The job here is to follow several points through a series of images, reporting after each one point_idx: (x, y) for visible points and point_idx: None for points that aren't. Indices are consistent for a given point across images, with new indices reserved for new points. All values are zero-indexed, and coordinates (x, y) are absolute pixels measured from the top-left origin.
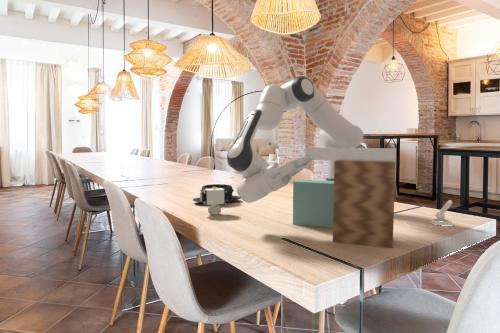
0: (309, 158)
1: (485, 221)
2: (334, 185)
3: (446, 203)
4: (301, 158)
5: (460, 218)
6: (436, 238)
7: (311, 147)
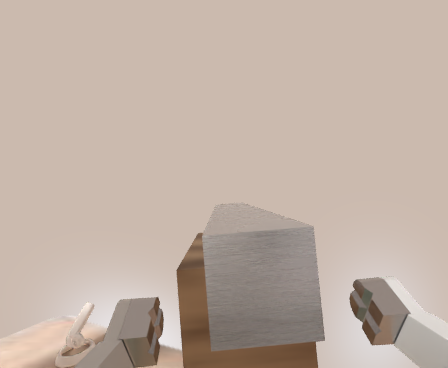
0: (357, 296)
1: (70, 319)
2: (316, 361)
3: (89, 310)
4: (436, 321)
5: (39, 337)
6: (180, 356)
7: (235, 227)
